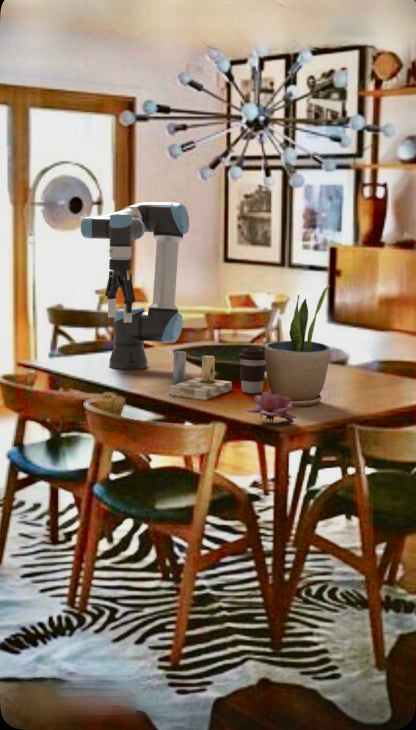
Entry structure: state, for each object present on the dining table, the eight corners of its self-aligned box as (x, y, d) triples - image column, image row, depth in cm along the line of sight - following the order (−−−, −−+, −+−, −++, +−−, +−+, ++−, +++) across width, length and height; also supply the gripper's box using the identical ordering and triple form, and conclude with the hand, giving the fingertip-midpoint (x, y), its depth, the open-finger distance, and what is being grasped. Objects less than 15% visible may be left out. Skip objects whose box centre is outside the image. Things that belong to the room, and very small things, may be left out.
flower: (276, 422, 296) (279, 388, 297) (237, 420, 306) (241, 388, 307) (305, 429, 307) (309, 397, 308) (268, 427, 317) (271, 396, 318)
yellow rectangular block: (204, 388, 359) (205, 355, 357) (215, 389, 357) (216, 356, 355) (199, 390, 355) (199, 356, 353) (210, 391, 353) (211, 358, 351)
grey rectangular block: (176, 383, 368) (177, 350, 365) (187, 384, 366) (188, 351, 364) (170, 385, 364) (171, 352, 362) (181, 386, 362) (182, 353, 360)
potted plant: (281, 411, 325) (286, 287, 318) (252, 398, 345) (256, 280, 338) (338, 407, 334) (344, 286, 327) (306, 394, 353) (311, 280, 346)
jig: (196, 385, 364) (196, 377, 363) (231, 390, 357) (231, 381, 357) (169, 394, 346) (169, 386, 346) (205, 399, 340) (205, 390, 339)
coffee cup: (233, 389, 359) (234, 347, 356) (258, 388, 362) (259, 346, 360) (245, 395, 350) (246, 352, 347) (270, 393, 354) (272, 351, 351)
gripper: (96, 256, 356) (95, 315, 360) (125, 261, 335) (124, 325, 339) (115, 255, 360) (115, 314, 364) (145, 261, 339) (144, 324, 342)
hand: (119, 320), depth 351 cm, fingers open, 13 cm apart
